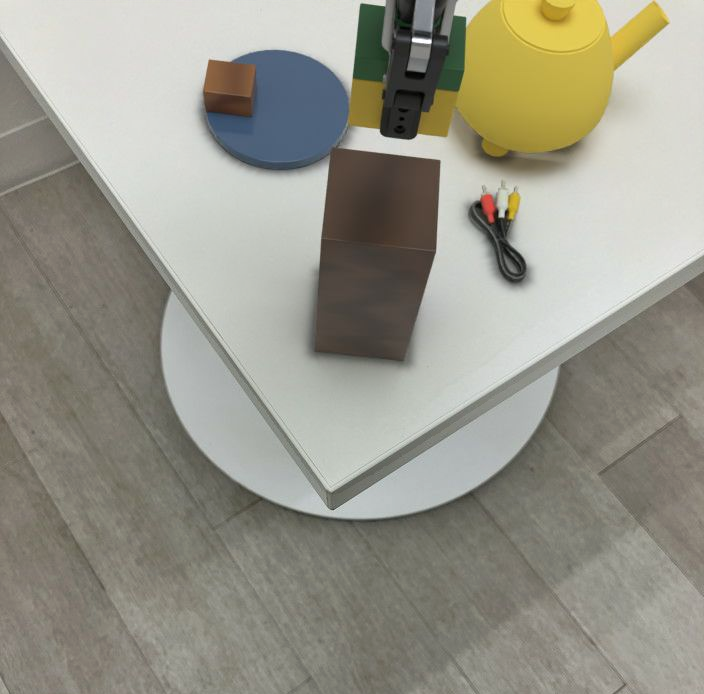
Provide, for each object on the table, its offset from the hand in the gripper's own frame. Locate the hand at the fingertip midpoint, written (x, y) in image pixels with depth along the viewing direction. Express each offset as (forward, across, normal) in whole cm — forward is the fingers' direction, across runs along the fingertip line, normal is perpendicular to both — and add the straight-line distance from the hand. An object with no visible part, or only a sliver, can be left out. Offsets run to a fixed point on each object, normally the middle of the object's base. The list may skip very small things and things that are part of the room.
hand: (399, 103), depth 48 cm
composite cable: (+25, -10, +12) cm, 29 cm away
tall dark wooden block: (+25, 0, 0) cm, 25 cm away
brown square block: (+24, -22, -14) cm, 35 cm away
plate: (+25, -22, -10) cm, 35 cm away
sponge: (0, 0, 0) cm, 0 cm away
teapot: (+25, -26, +16) cm, 39 cm away
